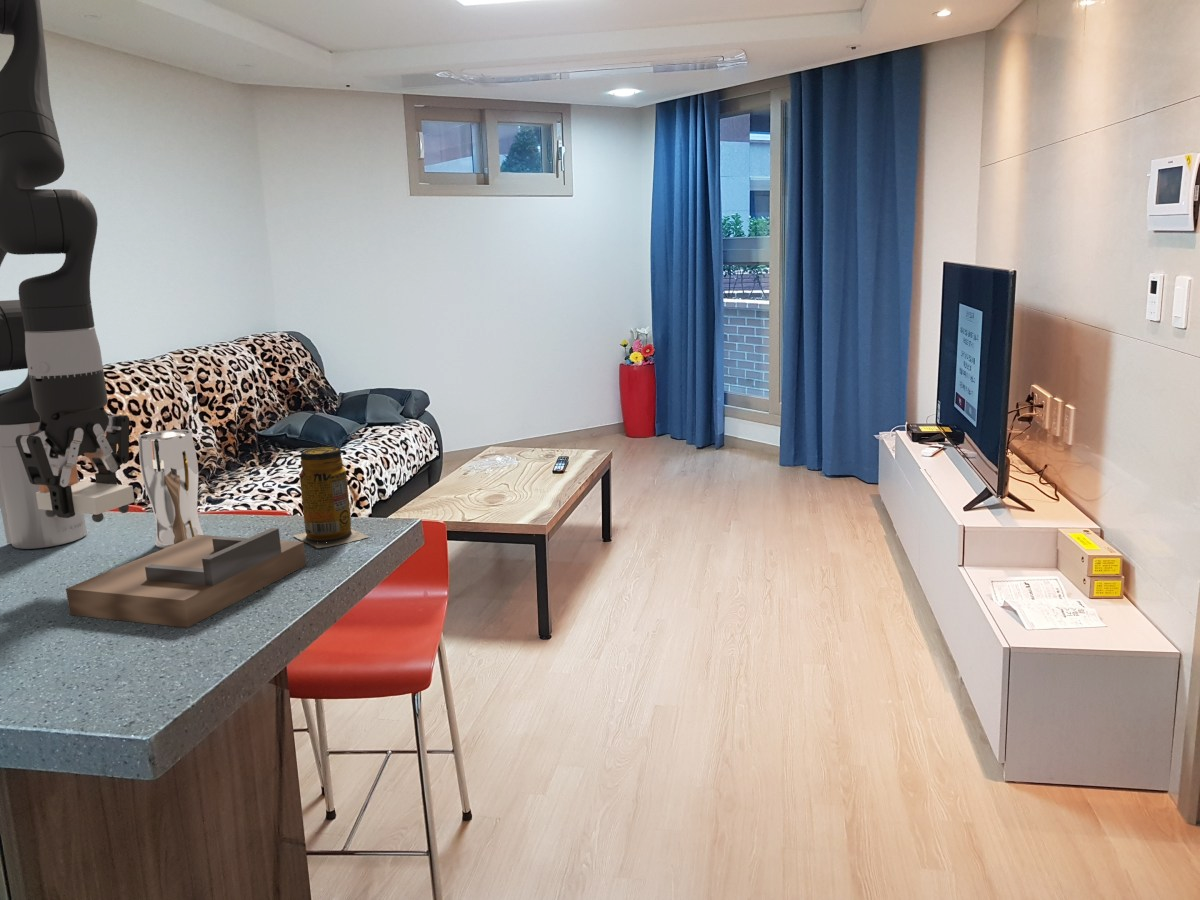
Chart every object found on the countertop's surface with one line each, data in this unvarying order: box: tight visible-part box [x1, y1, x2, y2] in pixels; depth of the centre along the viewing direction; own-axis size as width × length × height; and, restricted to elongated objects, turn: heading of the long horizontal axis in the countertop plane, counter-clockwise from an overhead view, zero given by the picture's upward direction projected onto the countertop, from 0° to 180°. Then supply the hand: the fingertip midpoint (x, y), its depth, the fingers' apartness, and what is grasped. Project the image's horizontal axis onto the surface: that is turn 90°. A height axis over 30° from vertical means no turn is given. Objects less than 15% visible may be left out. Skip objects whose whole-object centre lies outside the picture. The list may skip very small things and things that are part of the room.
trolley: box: [36, 464, 135, 523], centre depth 111 cm, size 9×6×6 cm, turn 71°
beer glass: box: [137, 429, 204, 549], centre depth 126 cm, size 7×7×15 cm
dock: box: [65, 527, 307, 629], centre depth 108 cm, size 16×20×6 cm
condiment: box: [293, 446, 370, 549], centre depth 126 cm, size 7×8×12 cm
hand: (87, 509), depth 112 cm, fingers closed on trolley, 5 cm apart
